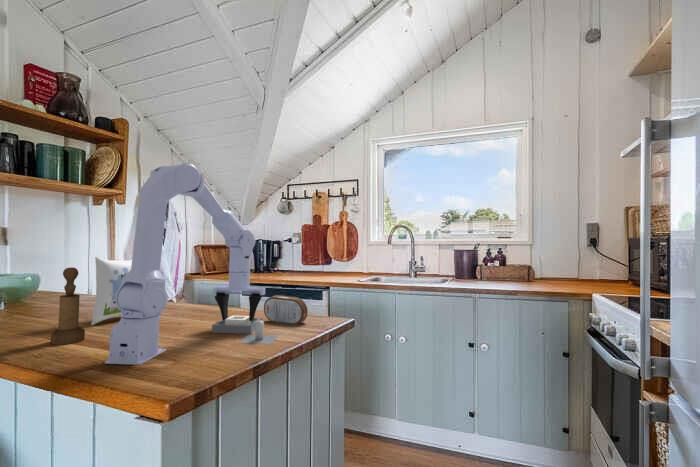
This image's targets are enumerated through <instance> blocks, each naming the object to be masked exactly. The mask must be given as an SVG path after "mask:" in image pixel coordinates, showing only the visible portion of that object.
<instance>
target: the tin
mask: <svg viewBox="0 0 700 467" xmlns="http://www.w3.org/2000/svg"><path fill="white" fill-rule="evenodd" d="M263 304H264V305H263V312H264V316H265V318H267V320H268V321H270V322H272V323H290V324H295V325H296V324H297V325H298V324H302V323H304V322H305V321H306V319H307V318H308V312H309V311H308V306H307V304H306V303H305V301H304V300H303V299H301V297H297V296H290V295H289V296H288V295H280V294H275V295H272V296H271V297H270V296H269V297H268V298H267V299H266V300H265V302H264V303H263Z"/></svg>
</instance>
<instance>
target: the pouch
mask: <svg viewBox="0 0 700 467" xmlns="http://www.w3.org/2000/svg"><path fill="white" fill-rule="evenodd" d="M94 259H95V270H96V271H95V275H96V276H95V280H96V281H95V283H96V284H95V285H96V287H95V288H96V289H95V298H94V302H93V303H94V304H93V313H92V318H91V324H90V325H91V326H94V325H96V324H98V323H100V322H102V321H105V320H108V319H111V318H115V317H118V316H121V309H120V308H119V307H118V306H117V304H116V301H115V297H116V293H117V291H118V290H119V288H120V286H121V283H122V278H123V277H124V276H125V275H126V274H127V273H128V272H129V271H130V270H131V266H132V259H128V260H118V259H114V260H113V259H112V260H110V259H104V258H101V257H99V256H95V258H94Z"/></svg>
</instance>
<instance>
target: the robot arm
mask: <svg viewBox="0 0 700 467" xmlns="http://www.w3.org/2000/svg"><path fill="white" fill-rule="evenodd" d="M178 195H181V196H186V197H191V198H192V199H194V201H195V202H197V204H198V205H200V206H201V207H202V208H203V209H204V211H206V213H208V214H209V215H210V216H211V218H212V219H211V224H212V225H213V226H214V228H215V229H216V230H217V231H218V232H219V234H221V235H222V236H223V238H224V243H225V246H226V247H227V248H228V249H229V264H228V267H229V268H228V286H225V285H224V286H220V285H219V286H217V285H216V286H212V294H213V295H215V296H214V300H215V301H216V303H217V305H218V307H219V310H220V314H221V320H225V319H227V317H229V307H228V306H229V300H230V295H249V296H248V302H249V314H248V316H249V321H253V320H254V318H255V317H256V316H255V315H256V311H257V308H258V306H259V304H260V301H261V300H262V297H263V296H264V295H266V287H262V286H261V287H259V286H250V283H251V282H250V281H251V256H252V255H253V250H254V247H255V245H256V242H257V241H256V238H255V235H254V234H253V233H252V231H251V230H249V229H245V227H244V226H243V224H241V223H240V221H239V220H238V219H237V217H236V216H235V213H234V212H233V211H230V210H229V209H224V208H223V207H222V205H221V203H219V202H218V200H217V199H216V197H215V196H214V194H213V193H212V192H211V190H210V188H209V187H208V186H207V185H206V183H205V176H204V175H203V174H202V173H201V172H200V171H199V169H198V167H197V166H196V165H195V164H192V163H189V162H184V163H181V164H179V163H178V164H174V165H161V166H159V167H156V168H155V169H152V170H150V174H149V177H148V178H147V179H146V180H145V182H144V183H143V185H142V186H141V187H140V190H139V196H138V204H137V206H138V207H137V214H136V215H137V216H136V222H135V230H134V231H135V234H134V240H133V242H134V243H133V250H132V257H131V260H132V266H131V270H130V271H129V272H128V273H127V274H126V275H125V276H124V277H123V278H122V283H121V286H120V288H119V290H118V291H117V293H116V297H115V301H116V304H117V306H118V307H119V308H120V309H121V315H120V316H121V317H120V319H119V322H117V323H115V324H114V325H113V326H112V328H111V330H110V333H109V347H108V349H109V351H108V352H109V353H108V359H106V360H104V364H108V365H139V366H141V365H145V362H148V361H149V360H151V359H152V358H154V357H156V356H158V355H160V354H162V353H163V352H165V351H167V349H166V348H159V347H160V346H159V344H160V320H161V319H160V318H161V317H160V316H162V311H163V310H164V309H165V308H166V306H167V305H168V292H167V290H166V278H165V277H164V275H162V273H161V271H160V270H161V262H162V251H163V242H164V233H165V226H166V225H165V224H166V223H165V221H166V214H167V206H168V201H170V200H171V199H173V198H175V197H176V196H178Z"/></svg>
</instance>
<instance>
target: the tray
mask: <svg viewBox="0 0 700 467" xmlns="http://www.w3.org/2000/svg"><path fill="white" fill-rule="evenodd" d="M229 317H230V316H228V317H227V318H229ZM259 320H262V321H263V319H262V317H254V320H253V321H251V324H250V325H225V320H222V319H220V320H219V321H216V322H215V323H213V324H212V325H211V333H215V334H217V333H218V334H247V335H252V334H253V333H254V332H255V329H256V321H259Z"/></svg>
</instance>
